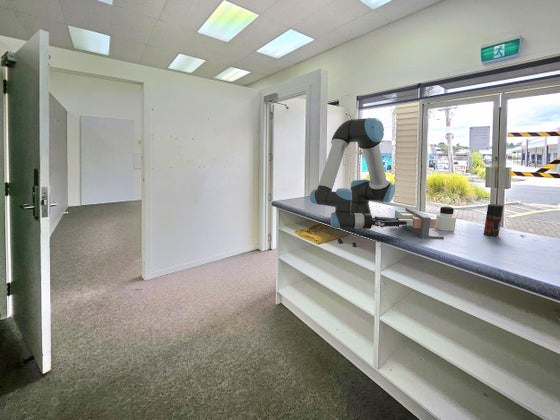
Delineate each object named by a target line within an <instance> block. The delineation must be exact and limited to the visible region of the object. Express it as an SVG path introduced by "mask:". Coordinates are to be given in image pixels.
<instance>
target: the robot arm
mask: <svg viewBox="0 0 560 420" xmlns="http://www.w3.org/2000/svg"><path fill="white" fill-rule="evenodd" d="M384 131H385V128H384V124H383V122H382V120H381V119H380V118H377V117H367V118H356V119H354V118H352V119H347V120H346V121H344V122H342V124H340V125H339V127H337V129H336V130H335V132H334V133H333V136H332V138H331V141H330V144H331V146H330V150H329V153H328V156H327V158H326V161H325V163H324V168H323V170H322V174H321V176H320V180H319V183H318V186H317V187H316V189H313V190H311V192H310V194H309V200H310V202H311V204H314V205H318V206H327V207H332V208H333V207H334V208H335V210H334V212H331V213H330V226H331V228H336V229H354V230H358V229H366V230H371V229H372V227H373V226H375V227H380V228H384V227H385V228H389V227H398V228H400V226H404V225H410V226H413V221H414V220H413V219H399V220H398V217H396V218H395V217H388V216H387V217H385V216H377V215H376V216H374V217H373V215H372V212H371V208H370V201H371V202H379V203H390V202H391V201H392V200H393V198H394V196H395V192H396V184H395V183H393V182H391V180H390V178H389V177H387V175H386V171H385V166H384V163H383V157H382V152H381V147H380V144H381V143H382V140H383V138H384V135H385V132H384ZM351 143H357V144H358V147H359V149H361V150H362V152H363V156H364V161H365V163H366V168H367V171H368V175H369V178H364V179H354V180H352V181H351V182H350V188H346V187H345V188H343V187H340V188H337V189H336V191H333V188H334V186H335V181H336V179H337V177H338V172H339V170H340V168H341V167H340V166H341V163H342V160H343V157H344V156H345V152H346V149H348V148H349V145H350V144H351Z"/></svg>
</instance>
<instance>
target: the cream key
mask: <svg viewBox="0 0 560 420" xmlns="http://www.w3.org/2000/svg"><path fill="white" fill-rule="evenodd" d="M412 217H416V215H415V214H409V213H400V219H412Z"/></svg>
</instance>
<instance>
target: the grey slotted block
mask: <svg viewBox="0 0 560 420" xmlns="http://www.w3.org/2000/svg"><path fill="white" fill-rule="evenodd" d="M404 209H405V211H410V214H415V215H416V217H421V218H422V224H421V228H414V227H412V226H410V225H403V226H404V227H406V228H407V229H408V230H409V231H411V232H413V234H415V235H417V236H418V237H420V238H421V239H439V240H442V239H445V236H443V235H442V234H440V233H439V232H437V231H435V229H434V230H433V229H432V228H429V227H430V219H431V218H430V217H431V216H428V215H426V214H424V213H422V212H420V210H419V211H418V210H416V209H414V208H412V207H405V208H404Z"/></svg>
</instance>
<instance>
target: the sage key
mask: <svg viewBox="0 0 560 420" xmlns="http://www.w3.org/2000/svg"><path fill="white" fill-rule="evenodd" d="M400 213H409V214H410V211H405V210H402V209H401V210H399V209H398V210H396V209H395V210H394V218H396V217H398V220H399V219H400Z"/></svg>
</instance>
